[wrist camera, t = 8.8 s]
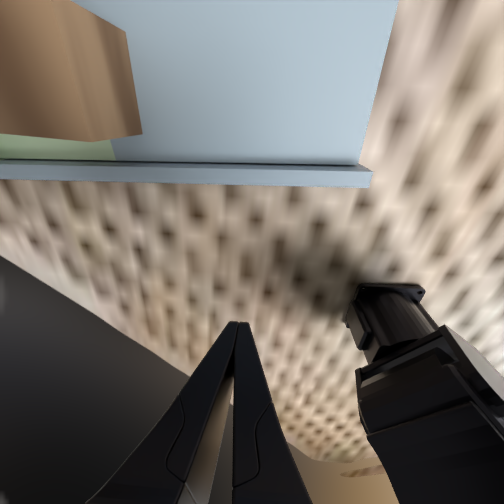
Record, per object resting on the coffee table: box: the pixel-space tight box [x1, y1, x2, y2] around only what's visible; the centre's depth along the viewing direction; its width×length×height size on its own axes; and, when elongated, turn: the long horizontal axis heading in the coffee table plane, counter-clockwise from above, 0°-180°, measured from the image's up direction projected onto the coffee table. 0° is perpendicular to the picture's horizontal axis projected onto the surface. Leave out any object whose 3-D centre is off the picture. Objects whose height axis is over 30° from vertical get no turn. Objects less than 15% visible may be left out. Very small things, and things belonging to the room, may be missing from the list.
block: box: [0, 0, 143, 142], centre depth 11 cm, size 5×5×5 cm
